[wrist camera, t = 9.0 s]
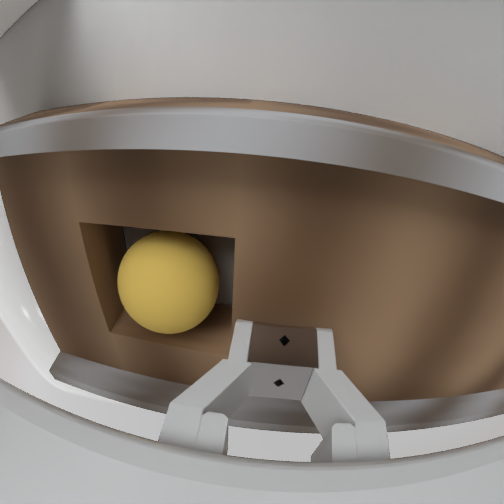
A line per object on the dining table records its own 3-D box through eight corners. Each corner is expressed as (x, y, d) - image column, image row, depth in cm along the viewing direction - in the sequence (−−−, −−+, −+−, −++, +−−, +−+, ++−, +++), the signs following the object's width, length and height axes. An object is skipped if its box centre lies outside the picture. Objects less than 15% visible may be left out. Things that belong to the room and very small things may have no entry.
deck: (582, 196, 9) (630, 237, 5) (494, 361, 16) (513, 410, 12) (37, 111, 10) (-38, 141, 6) (86, 325, 17) (54, 378, 13)
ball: (185, 284, 9) (85, 253, 9) (195, 368, 11) (110, 334, 12) (235, 223, 12) (149, 206, 13) (233, 302, 14) (158, 280, 15)
